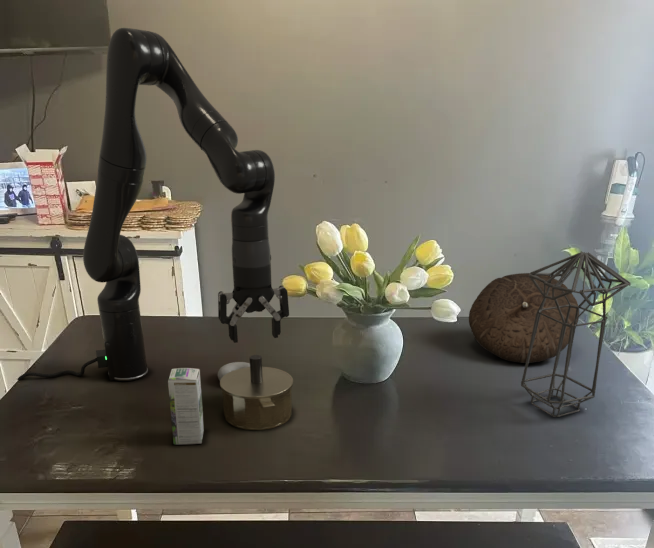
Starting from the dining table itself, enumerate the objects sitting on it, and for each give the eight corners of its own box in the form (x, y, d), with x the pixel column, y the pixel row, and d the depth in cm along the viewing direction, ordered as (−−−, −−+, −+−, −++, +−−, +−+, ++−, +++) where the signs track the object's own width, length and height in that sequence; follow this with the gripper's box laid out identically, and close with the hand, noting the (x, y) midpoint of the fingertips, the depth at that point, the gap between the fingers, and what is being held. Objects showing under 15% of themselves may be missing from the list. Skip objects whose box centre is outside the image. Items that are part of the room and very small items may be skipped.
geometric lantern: (550, 428, 145) (582, 265, 128) (504, 399, 157) (527, 247, 140) (605, 414, 151) (643, 257, 134) (556, 387, 163) (585, 240, 146)
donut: (212, 387, 161) (252, 390, 159) (211, 374, 159) (251, 377, 158) (226, 371, 170) (264, 374, 168) (225, 358, 168) (263, 361, 166)
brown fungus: (467, 370, 174) (457, 273, 172) (480, 369, 195) (471, 283, 194) (583, 355, 163) (573, 252, 162) (583, 357, 185) (575, 266, 183)
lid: (228, 406, 137) (226, 376, 133) (213, 376, 150) (211, 348, 146) (302, 396, 141) (302, 366, 138) (281, 367, 154) (281, 340, 151)
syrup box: (176, 431, 141) (169, 367, 134) (205, 431, 142) (199, 367, 135) (173, 445, 136) (166, 379, 129) (203, 444, 137) (197, 378, 130)
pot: (235, 440, 138) (233, 408, 135) (216, 400, 155) (214, 369, 151) (303, 430, 143) (303, 398, 139) (277, 391, 159) (277, 362, 156)
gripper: (281, 253, 138) (283, 329, 145) (211, 259, 133) (217, 336, 141) (291, 262, 131) (293, 341, 139) (219, 268, 127) (225, 349, 135)
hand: (255, 339), depth 140 cm, fingers open, 8 cm apart
